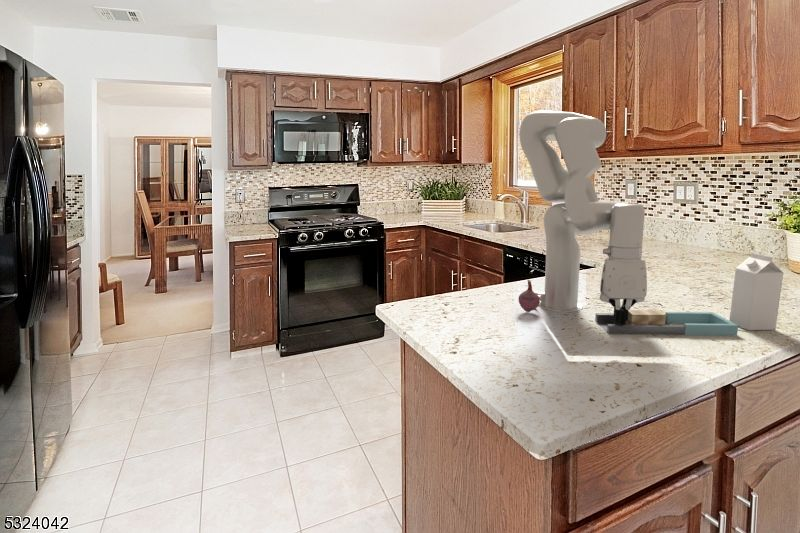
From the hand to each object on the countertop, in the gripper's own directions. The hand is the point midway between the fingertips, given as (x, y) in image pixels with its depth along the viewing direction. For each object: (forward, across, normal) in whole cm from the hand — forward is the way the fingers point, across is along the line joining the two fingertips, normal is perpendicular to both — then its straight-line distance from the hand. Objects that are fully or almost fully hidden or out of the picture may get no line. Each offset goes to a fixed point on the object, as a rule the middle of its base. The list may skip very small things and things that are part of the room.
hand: (620, 323), depth 123 cm
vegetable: (+2, -21, +16) cm, 26 cm away
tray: (+2, +20, 0) cm, 20 cm away
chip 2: (+1, +8, 0) cm, 8 cm away
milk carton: (+2, +35, +6) cm, 36 cm away
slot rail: (+2, +4, 0) cm, 5 cm away
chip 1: (+1, +4, 0) cm, 4 cm away
